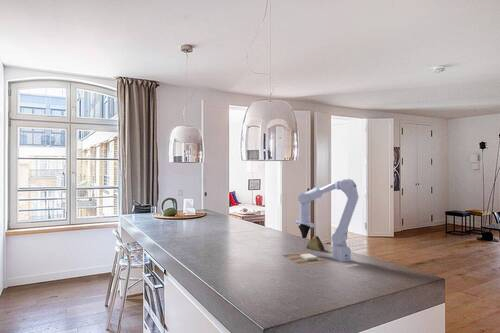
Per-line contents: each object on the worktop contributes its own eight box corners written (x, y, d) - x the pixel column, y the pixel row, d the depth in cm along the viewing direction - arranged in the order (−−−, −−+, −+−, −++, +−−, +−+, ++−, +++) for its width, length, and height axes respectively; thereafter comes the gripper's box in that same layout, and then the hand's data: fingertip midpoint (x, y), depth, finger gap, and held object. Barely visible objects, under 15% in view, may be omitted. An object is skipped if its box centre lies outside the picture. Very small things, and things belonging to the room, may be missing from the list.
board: (328, 264, 170) (328, 262, 170) (301, 267, 164) (301, 265, 164) (305, 254, 191) (305, 252, 191) (280, 256, 185) (280, 254, 185)
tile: (309, 256, 181) (316, 259, 175) (300, 257, 179) (307, 260, 173) (309, 253, 181) (316, 256, 175) (300, 254, 179) (307, 257, 173)
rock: (301, 246, 201) (310, 247, 192) (307, 234, 204) (316, 234, 195) (314, 255, 204) (323, 257, 195) (320, 243, 207) (329, 245, 198)
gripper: (318, 215, 184) (318, 239, 184) (302, 212, 197) (302, 235, 196) (308, 216, 180) (308, 241, 180) (292, 212, 193) (292, 236, 193)
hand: (304, 238), depth 188 cm, fingers closed
